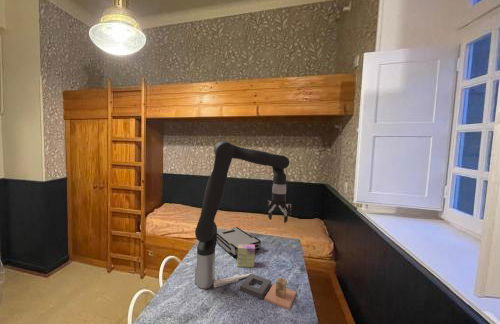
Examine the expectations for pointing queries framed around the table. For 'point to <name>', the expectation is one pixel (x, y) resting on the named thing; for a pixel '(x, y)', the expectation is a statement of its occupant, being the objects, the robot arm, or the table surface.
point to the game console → (236, 240)
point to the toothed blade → (229, 280)
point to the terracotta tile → (279, 301)
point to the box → (246, 255)
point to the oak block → (281, 287)
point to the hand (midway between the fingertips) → (277, 220)
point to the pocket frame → (255, 291)
